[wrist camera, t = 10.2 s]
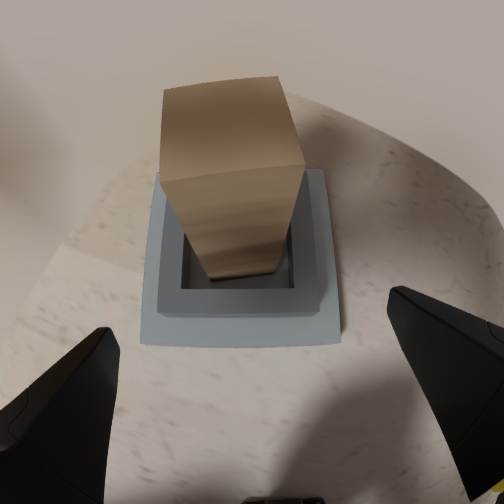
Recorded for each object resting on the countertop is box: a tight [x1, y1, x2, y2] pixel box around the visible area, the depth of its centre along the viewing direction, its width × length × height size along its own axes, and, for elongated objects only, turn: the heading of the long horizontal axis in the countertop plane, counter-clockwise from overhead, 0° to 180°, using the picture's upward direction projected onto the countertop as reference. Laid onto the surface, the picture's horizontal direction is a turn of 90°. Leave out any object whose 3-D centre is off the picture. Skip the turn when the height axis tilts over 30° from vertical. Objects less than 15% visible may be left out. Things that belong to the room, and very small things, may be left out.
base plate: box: [140, 168, 341, 348], centre depth 21 cm, size 14×14×4 cm
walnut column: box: [159, 76, 306, 283], centre depth 16 cm, size 4×4×13 cm
